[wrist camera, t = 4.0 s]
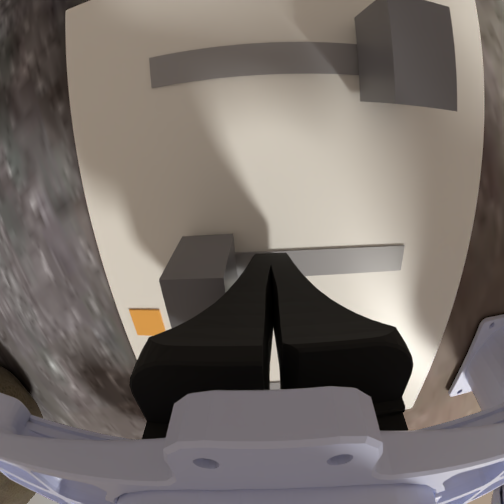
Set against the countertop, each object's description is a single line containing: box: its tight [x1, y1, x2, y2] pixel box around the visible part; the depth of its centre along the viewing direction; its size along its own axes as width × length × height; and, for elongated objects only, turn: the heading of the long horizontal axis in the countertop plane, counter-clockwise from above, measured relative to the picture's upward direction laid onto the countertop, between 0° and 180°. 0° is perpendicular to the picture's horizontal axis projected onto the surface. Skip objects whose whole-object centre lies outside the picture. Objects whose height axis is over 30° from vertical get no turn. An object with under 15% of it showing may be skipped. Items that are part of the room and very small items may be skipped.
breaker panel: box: [65, 0, 484, 409], centre depth 14 cm, size 17×24×2 cm
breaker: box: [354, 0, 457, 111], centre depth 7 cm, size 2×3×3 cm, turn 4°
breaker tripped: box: [159, 234, 238, 328], centre depth 11 cm, size 2×3×3 cm, turn 4°
